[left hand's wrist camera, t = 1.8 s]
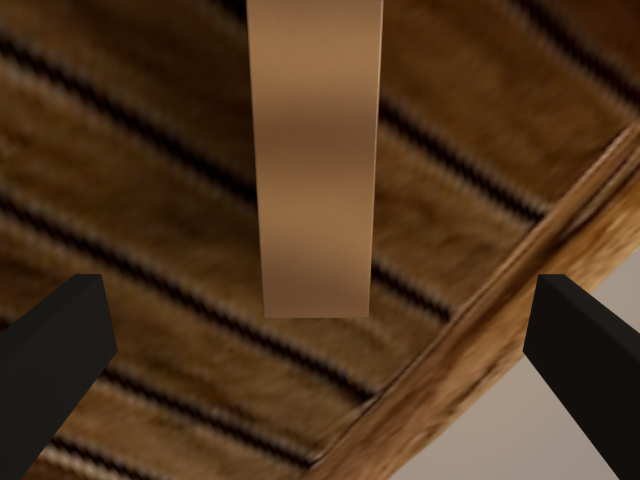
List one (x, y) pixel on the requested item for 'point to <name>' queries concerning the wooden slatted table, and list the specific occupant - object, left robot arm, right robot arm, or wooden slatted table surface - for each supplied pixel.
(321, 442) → the wooden slatted table surface
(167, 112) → the wooden slatted table surface
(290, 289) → the bar
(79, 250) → the wooden slatted table surface
